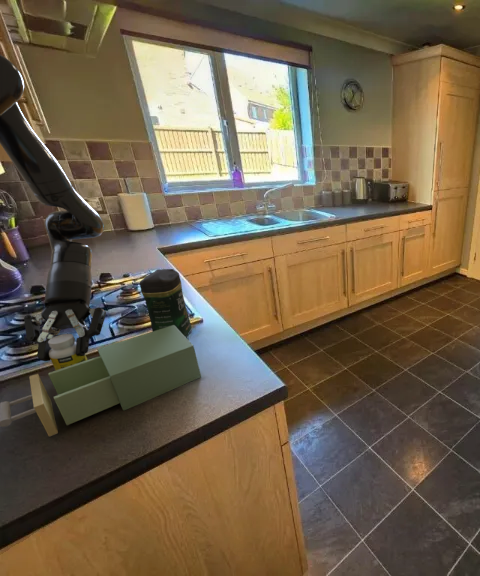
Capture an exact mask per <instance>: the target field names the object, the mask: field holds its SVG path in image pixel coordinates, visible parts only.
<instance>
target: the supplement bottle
mask: <svg viewBox="0 0 480 576" xmlns="http://www.w3.org/2000/svg"><path fill="white" fill-rule="evenodd" d="M76 342H77V341H76V339H75V337H74V334H72V333H63V334H58V335H56V336H55V337H53V338H51V339H50V340H49V341H48V343H49V346H50V347H51V348H52V349H51V350H50V351H49V357H50V361H51V364H52V366H53V368H54V371H56V370H59V369H62V368H65V367H68V366H71V365H74V364H77V363H80V362H83V361H86V360H88V358H87V355H86V354H85V356H78V355H76Z"/></svg>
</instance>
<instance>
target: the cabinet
mask: <svg viewBox="0 0 480 576" xmlns="http://www.w3.org/2000/svg"><path fill="white" fill-rule="evenodd" d="M97 352H98V356H101V358H102V361H103V363H104V365H105V367H106V369H107V371H108V373H109V375H110V377H111V380H112V383H113V385H114V388H115V390H116V393H117V396H118V398H119V401H120V403H119V405H120V406H121V409H122V411H126V410H129V409H131V408H134V407H136V406H138V405H140V404H142V403H145V402H147V401H150V400H152V399H155V398H156V397H159V396H161V395H163V394H165V393H168V392H171V391H172V390H175V389H177V388H179V387H182V386H185V385H187V384H188V383H191V382H193V381H196V380H198V379H200V378H202V375H201V370H200V367H199V362H198V359H197V358H198V357H197V353H196V349H195V346H194V344H193V343H192V342H191V341H190V340H189V339H188V338H187V336H186V337H185V336H184V335H183V334H182V333H181V332H180V331H179V330H178V329H177V327H176V326H175V325H172V326H169V327H166V328H163V329H159V330H156V331H150V332H147V333H144V334H141V335H137V336H134V337H131V338H128V339H125V340H121V341H119V342H115V343H112V344H109V345H106V346H103V347H99V348H97Z"/></svg>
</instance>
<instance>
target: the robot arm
mask: <svg viewBox="0 0 480 576" xmlns="http://www.w3.org/2000/svg"><path fill="white" fill-rule="evenodd" d="M24 91H25V83H24V79H23V76H22V74H21V73H20V71H19V69H18V67H17V66H16V65H15V64H14V63H13V62H11V60H9V59H8V58H7V57H5V56H4V55H2V54H0V146H1V147H2V149H3V150H4V151H5V153H6V155H7V156H8V158H9V159H10V161H11V162H12V164H13V165H14V167H15V169H16V170H17V171H18V173H19V174H20V176H21V178H22V179H23V181H24V182H25V184H26V185H27V187H28V188H29V190H30V191H31V193H32V194H33V195H34V197H35V199H37V201H38V202H39V203H40V204H42V205H44V206H48V207H55V208H59V209H60V208H61V209H63V210H57V211H52V212H50V213H48V215H47V216H46V217H45V219H44V228H45V232H46V234H47V237H48V240H49V245H50V249H51V257H50V266H49V270H48V273H47V277H46V286H45V295H44V309H43V311H41V313H38V314H35V315H31V314H26V315H25V316H24V317H23V321H24V329H25V335H26V340H27V341H28V342H32V343H34V344H37V353H36V356H37V357H36V358H37V359H39V360H40V361H42V362H50V361H51V359H50V357H49V351H50V350H51V349H52V348H51V347H50V346H49V343H48V341H49V340H50V339H51V338H53V337H55V336H58V335H60V334H59V333H60V332H61V330H66V329H74V330H75V332H76V334H77V336H78V337H77V338H76V341H75V342H76V355H78V356H85V355H86V354H87V353H88V352H89V347H90V346H89V345H90V339H91V338H93V337H95V336H100V335H101V332H102V329H103V326H104V323H105V319H106V316H107V311H106V310H104V309H103V308H101V307H99V306H97V307H95V308H91V307H90V305H91V299H92V298H91V296H92V287H93V275H92V263H93V262H92V261H93V251H92V249H91V247H90V246H88V245H86V244H84V243H81V242H77V241H73V240H82V239H83V240H84V239H93V238H97V237H100V236H101V235H102V234H103V233H104V229H105V225H104V221H103V219H102V218H101V216H100V215H99V213H98V212H97V211H96V210H95V209H94V208H93V207H92V206H91V205H90V204H89V203H88V202H87V201H86V200H85V199H84V198H83V196H81V194H79V193H78V192H77V190H75V188H74V186H73V185H72V183H71V181H70V179H69V178H68V176H67V174H66V173H65V171H64V169H63V168H62V166H61V165H60V163H59V161H58V160H57V158H55V156H54V155H53V154H52V152H51V151H50V150H49V149H48V147H47V146H46V145H45V144H44V143H43V141H42V140H41V138H39V136H38V135H37V134H36V132H35V131H34V129H33V128H32V126H31V125H30V124H29V122H28V121H27V119H26V117H25V116H24V114H23V112H22V111H21V108H20V106H19V104H18V102H19V100H21V98H22V97H23V94H24ZM89 316H90V317H91V321H90V323H89V327H88V325H87V323H86V322H85V321H86V320H87V319H88V318H89ZM43 320H44V321H45V323H44V325H43V327H41V325H42V324H43Z"/></svg>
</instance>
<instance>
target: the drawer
mask: <svg viewBox="0 0 480 576" xmlns="http://www.w3.org/2000/svg"><path fill="white" fill-rule="evenodd" d="M47 374H48V377H49V379H50V381H51V383H52V386H53V387H54V390H55V392H56V394H57V395H55V396H53V400H54V402H55V404H56V406H57V408H58V410H59V412H60V414H61V417H62V419H63V421H64V423H65V425H66V426H69V425H71V424H73V423H76V422H78V421H81V420H83V419H86V418H88V417H90V416H92V415H96V414H97V413H100V412H103V411H104V410H105V411H106V410H107V409H109V408H112V407H114V406H116V405H120V401H119V398H118V396H117V393H116V390H115V388H114V385H113V383H112V380H111V377H110V375H109V373H108V371H107V369H106V367H105V365H104V363H103V361H102V358H101V356H100V355H98V356H96V357H93V358H90V359H87V360H86V361H83V362H80V363H77V364H74V365H71V366H68V367H65V368H62V369H59V370H54V371H50V372H48V373H47ZM29 384H30V390H31V394H29V395H25V396H23V397H20V398H18V399H15V400H12V401H6V400H5V401H1V402H0V427H1V428H5V427H8V426H10V425H11V424H12V422H14V421H17V420H20V419H22V418H25V417H27V416H30V415H32V414H35V413H36V415H37V416H38V419H39V421H40V422H41V424H42V425H43V428H44V430H45V432H46V433H47V436H48V437H52V436H55V435H57V434H58V433H59V431H58V425H57V421H56V417H55V412H54V407H53V402H52V400H51V397H50V395H49V393H48V391H47V390H46V387H45V385H44V383H43V381H42V379H41V376H40V374H39V373H36V374H32V375H30V376H29ZM30 400H32V405H33V408H31V409H29V410H25V411H22V412H20V413H18V414H15V415H12V411H11V410H12V409H11V407H13V406H15V405H18V404H21V403H24V402H27V401H30Z"/></svg>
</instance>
